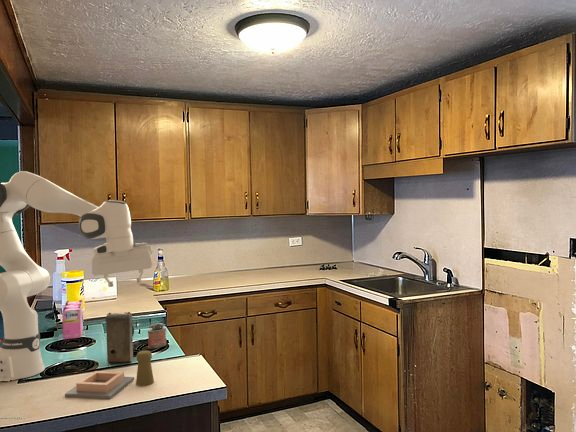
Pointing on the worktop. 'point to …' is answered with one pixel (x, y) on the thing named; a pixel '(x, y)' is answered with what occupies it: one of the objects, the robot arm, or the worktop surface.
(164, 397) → the worktop surface
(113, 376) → the socket block
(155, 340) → the lighter
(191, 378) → the worktop surface
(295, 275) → the worktop surface
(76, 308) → the gum box
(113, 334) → the vintage camera
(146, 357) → the olive peg figure
